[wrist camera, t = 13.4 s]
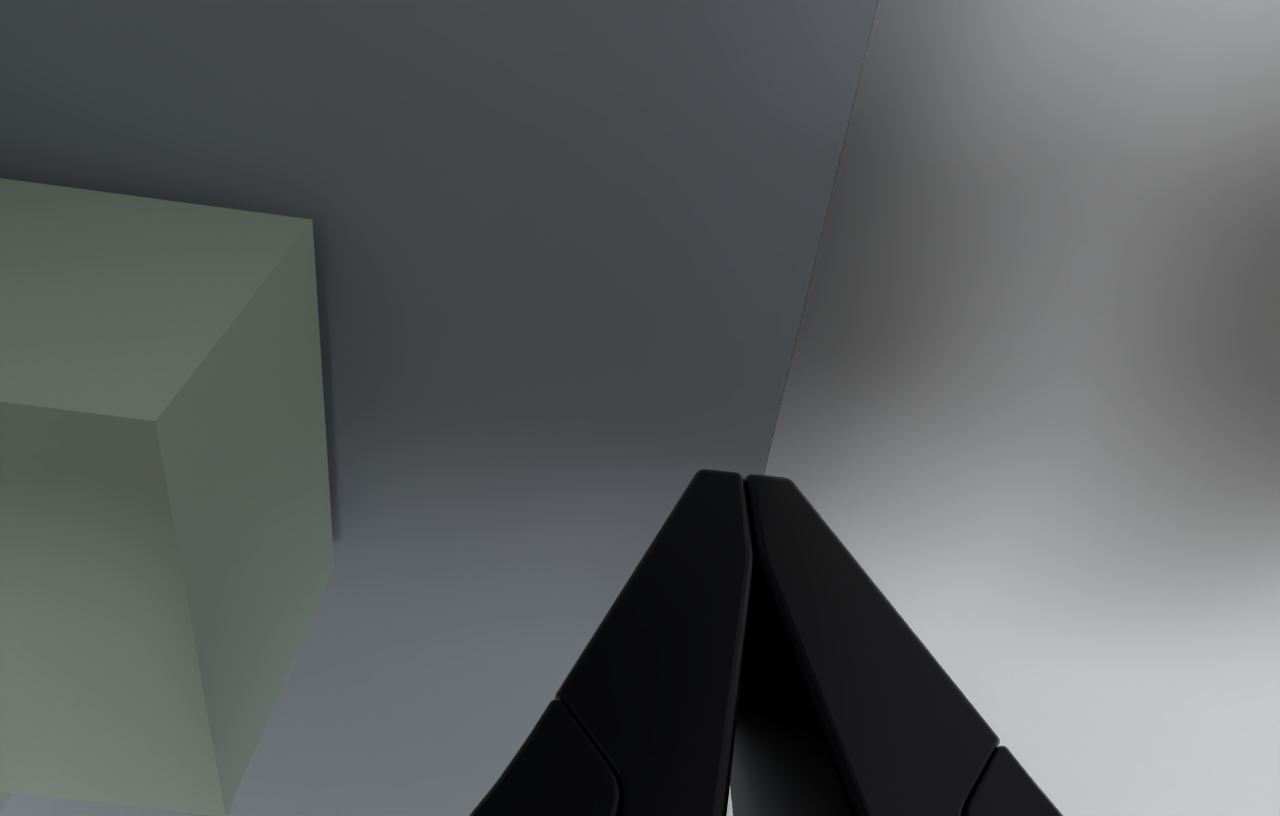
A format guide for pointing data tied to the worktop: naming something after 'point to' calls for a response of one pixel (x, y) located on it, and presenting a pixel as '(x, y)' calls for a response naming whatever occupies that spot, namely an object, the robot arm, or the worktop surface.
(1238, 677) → the worktop surface
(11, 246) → the housing
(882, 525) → the worktop surface
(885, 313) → the worktop surface
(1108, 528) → the worktop surface
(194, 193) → the board
